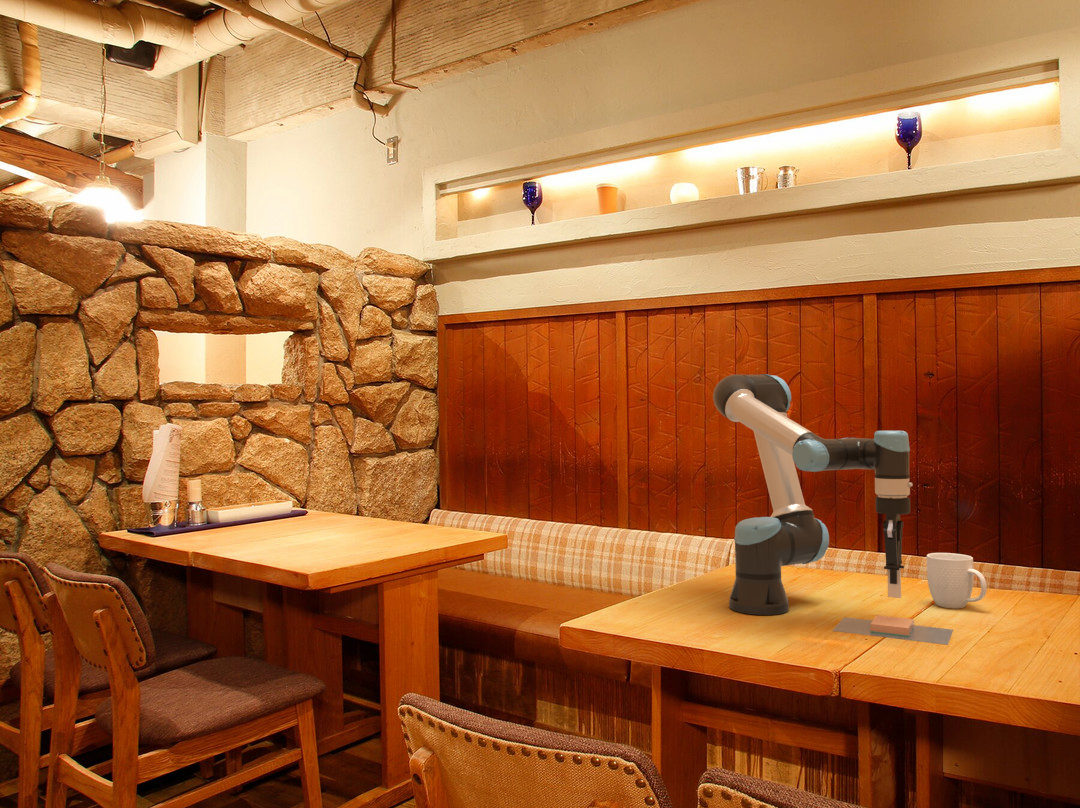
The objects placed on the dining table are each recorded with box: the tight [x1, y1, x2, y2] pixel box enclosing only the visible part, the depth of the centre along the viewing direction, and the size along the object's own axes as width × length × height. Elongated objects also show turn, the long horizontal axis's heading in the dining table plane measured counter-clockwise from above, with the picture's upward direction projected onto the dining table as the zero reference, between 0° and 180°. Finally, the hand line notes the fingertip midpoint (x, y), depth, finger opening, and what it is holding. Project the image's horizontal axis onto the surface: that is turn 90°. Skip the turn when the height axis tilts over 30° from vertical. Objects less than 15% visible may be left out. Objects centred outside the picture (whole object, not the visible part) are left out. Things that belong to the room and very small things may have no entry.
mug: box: [926, 552, 988, 609], centre depth 213 cm, size 15×11×13 cm
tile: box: [871, 615, 915, 637], centre depth 188 cm, size 8×2×9 cm
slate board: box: [831, 616, 954, 646], centre depth 188 cm, size 24×14×1 cm, turn 59°
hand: (894, 596), depth 191 cm, fingers closed
